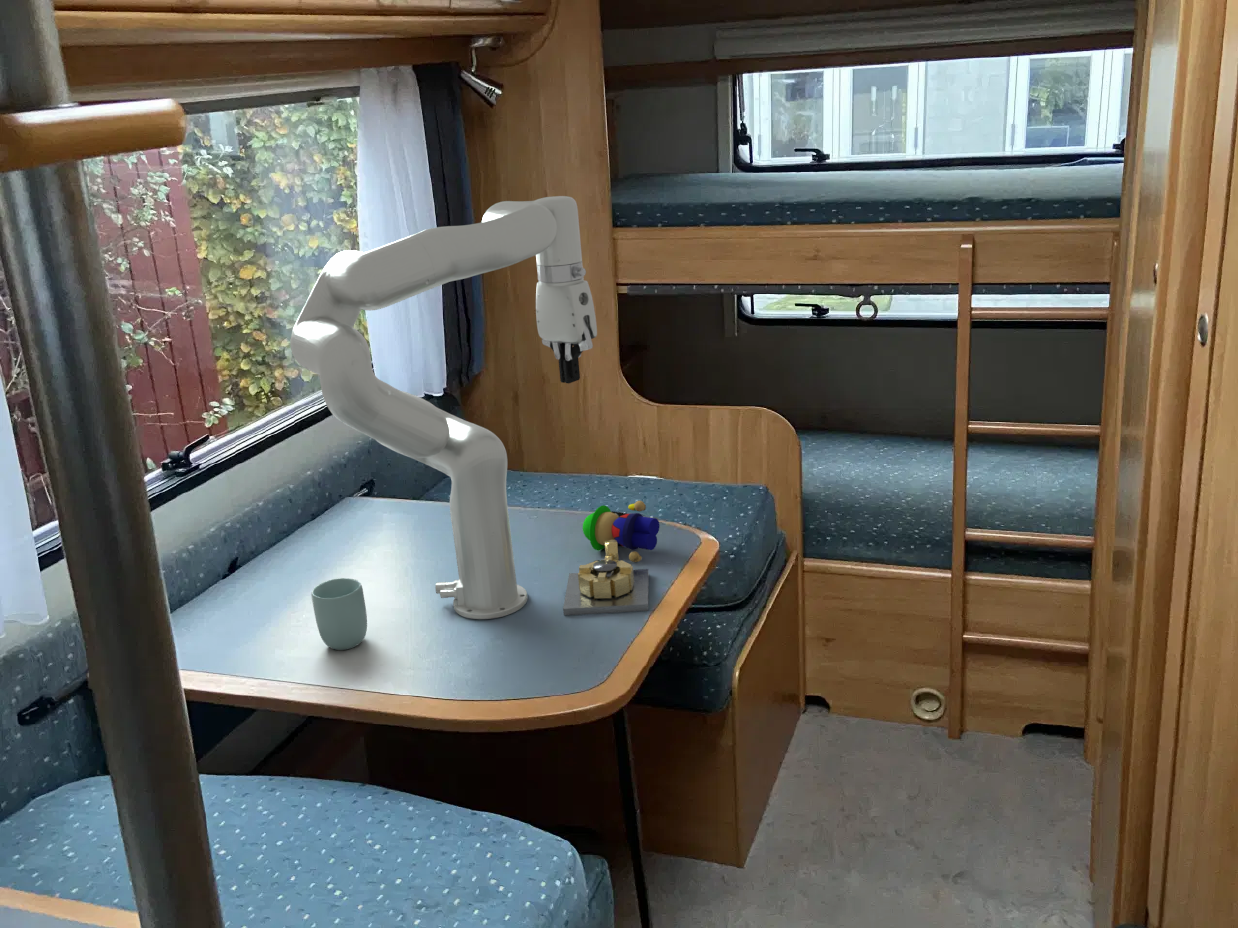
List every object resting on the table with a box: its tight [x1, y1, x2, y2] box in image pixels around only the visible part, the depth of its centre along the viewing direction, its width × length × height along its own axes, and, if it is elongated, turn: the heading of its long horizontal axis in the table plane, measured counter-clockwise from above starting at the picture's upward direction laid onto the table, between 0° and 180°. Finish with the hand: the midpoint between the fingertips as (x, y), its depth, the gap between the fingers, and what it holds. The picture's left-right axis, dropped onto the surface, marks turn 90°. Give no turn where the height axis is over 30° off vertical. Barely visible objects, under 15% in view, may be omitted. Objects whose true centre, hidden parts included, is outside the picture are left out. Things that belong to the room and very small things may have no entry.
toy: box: [582, 500, 661, 563], centre depth 208 cm, size 12×9×15 cm
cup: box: [310, 577, 368, 651], centre depth 180 cm, size 8×8×10 cm
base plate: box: [562, 559, 650, 616], centre depth 191 cm, size 14×15×6 cm
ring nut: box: [577, 540, 634, 598], centre depth 192 cm, size 13×9×5 cm
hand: (570, 381), depth 191 cm, fingers closed
